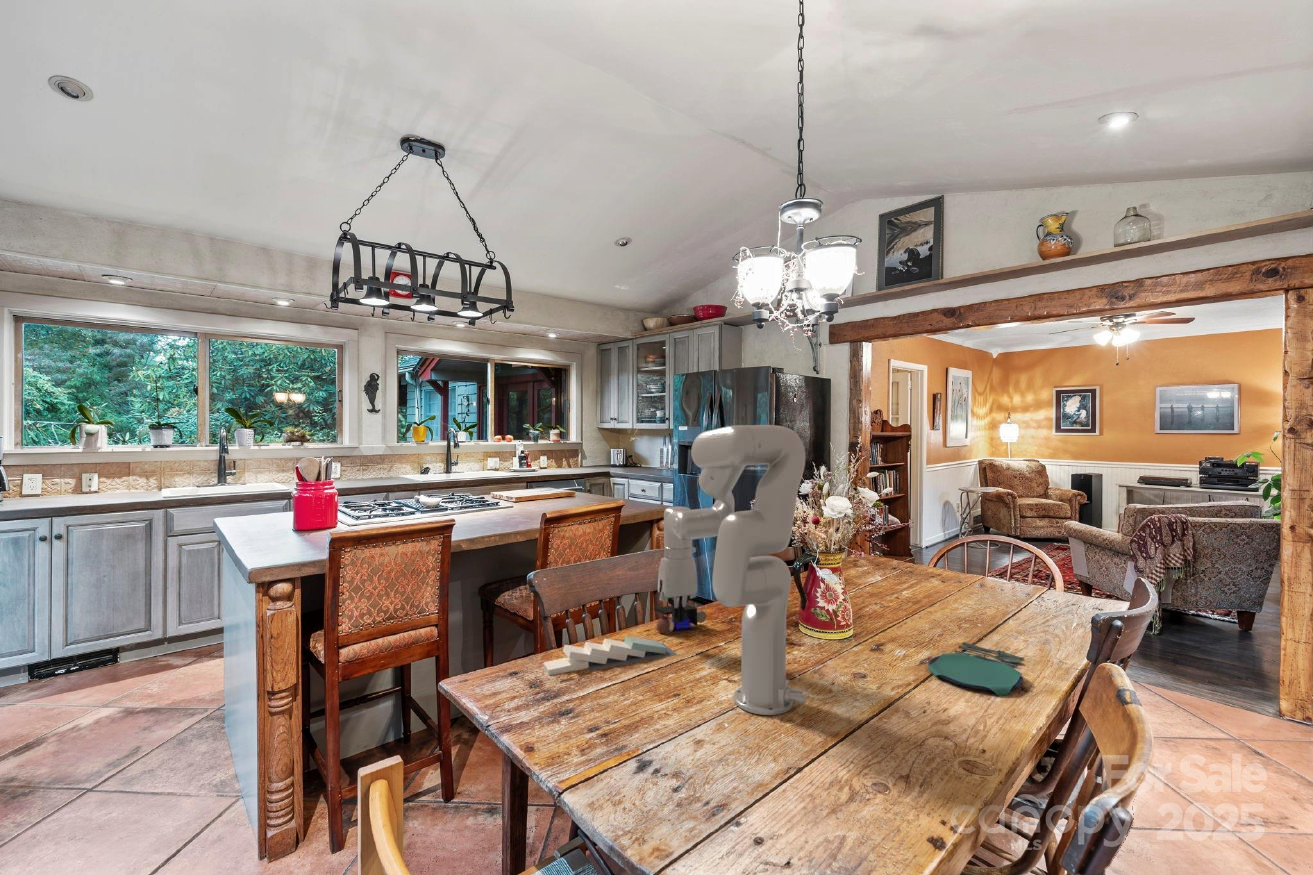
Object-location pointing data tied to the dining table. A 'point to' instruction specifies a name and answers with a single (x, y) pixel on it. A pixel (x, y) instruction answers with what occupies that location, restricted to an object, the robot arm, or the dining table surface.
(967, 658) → the cutlery set
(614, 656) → the ivory tile
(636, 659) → the mat
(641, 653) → the ivory tile
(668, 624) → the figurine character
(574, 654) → the ivory tile
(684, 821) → the dining table surface
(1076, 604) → the dining table surface
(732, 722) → the dining table surface
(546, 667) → the ivory tile
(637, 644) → the tile
